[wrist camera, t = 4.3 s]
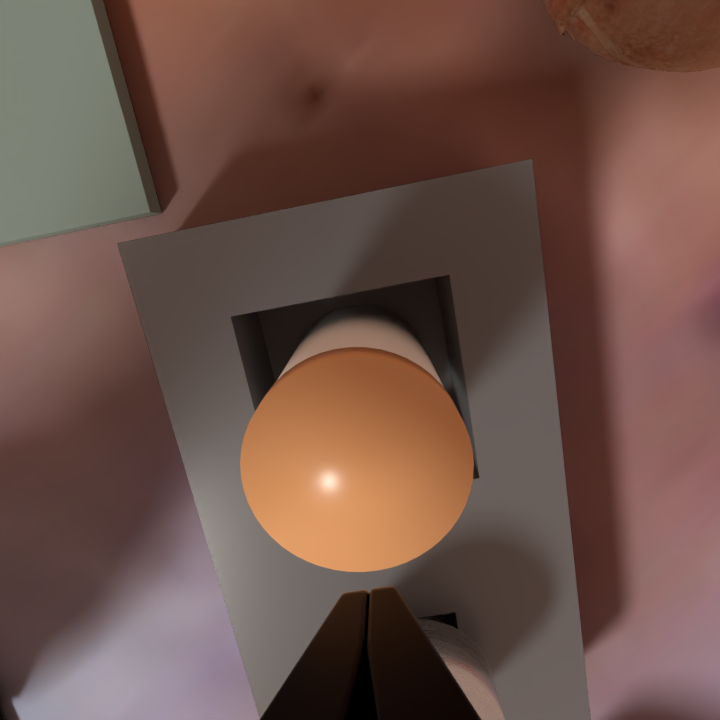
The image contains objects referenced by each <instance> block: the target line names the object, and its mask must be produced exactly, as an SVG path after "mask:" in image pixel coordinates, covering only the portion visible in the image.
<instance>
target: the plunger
mask: <svg viewBox="0 0 720 720" xmlns="http://www.w3.org/2000/svg"><path fill="white" fill-rule="evenodd" d="M416 619H417V621H418V622H419V624H420V625H421V627H422V628H423V630H424V631H425V633H426V634H427V636H428V638H429V639H430V641H431V642H432V644H433V645H434V647H435V648H436V650H437V651H438V653H439V655H440V656H441V658H442V659H443V661H444V662H445V664H446V665H447V667H448V668H449V670H450V672H451V673H452V675H453V676H454V678H455V679H456V681H457V682H458V684H459V685H460V687H461V689H462V690H463V692H464V693H465V695H466V696H467V698H468V699H469V701H470V702H471V704H472V706H473V707H474V709H475V710H476V712H477V713H478V715H479V716H480V718H481V719H482V720H505V718H504V714H503V711H502V707H501V704H500V700H499V697H498V693H497V690H496V686H495V683H494V679H493V676H492V672H491V668H490V665H489V662H488V660H487V658H486V656H485V654H484V652H483V651H482V649H481V648H480V647H479V646H478V644H477V643H476V642H475V641H474V640H473V639H471V638H470V637H469V636H468V635H466V634H465V633H463V632H462V631H460V630H458V629H456V628H454V627H453V626H450V625H447V624H445V620H444V615H443V614H441V615H434V616H428V617H421V618H416Z"/></svg>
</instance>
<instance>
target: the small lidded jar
mask: <svg viewBox="0 0 720 720" xmlns="http://www.w3.org/2000/svg"><path fill="white" fill-rule="evenodd" d="M240 470H241V480H242V485H243V490H244V493H245V496H246V498H247V501H248V504H249V506H250V508H251V510H252V512H253V514H254V516H255V517H256V519H257V520H258V521H259V523H260V524H261V526H262V527H263V528H264V530H265V531H266V532H267V533H268V534H269V535H270V536H271V537H272V538H273V539H274V540H275V541H276V542H277V543H279V544H280V545H281V546H282V547H283V548H285V549H286V550H288V551H289V552H291V553H292V554H294V555H295V556H297V557H299V558H301V559H303V560H305V561H307V562H310V563H312V564H315V565H318V566H321V567H325V568H329V569H333V570H339V571H346V572H369V571H378V570H383V569H387V568H392V567H395V566H398V565H401V564H404V563H406V562H408V561H410V560H412V559H414V558H417V557H418V556H420V555H422V554H423V553H425V552H426V551H428V550H429V549H431V548H432V547H433V546H434V545H436V544H437V543H438V542H439V541H440V540H442V538H443V537H444V536H445V535H446V534H447V533H448V532H449V531H450V530H451V528H452V527H453V526H454V524H455V523H456V521H457V520H458V519H459V517H460V515H461V513H462V511H463V509H464V507H465V505H466V503H467V500H468V497H469V494H470V491H471V486H472V481H473V470H474V461H473V450H472V445H471V441H470V437H469V434H468V431H467V429H466V426H465V424H464V422H463V420H462V418H461V416H460V414H459V412H458V410H457V408H456V406H455V404H454V402H453V401H452V399H451V397H450V395H449V394H448V393H447V391H446V390H445V389H444V387H443V385H442V383H441V381H440V379H439V377H438V375H437V373H436V371H435V369H434V367H433V365H432V363H431V361H430V359H429V357H428V355H427V353H426V351H425V349H424V346H423V344H422V342H421V341H420V339H419V337H418V335H417V334H416V333H415V331H414V330H413V328H412V327H411V326H410V325H409V324H408V323H407V322H406V321H404V320H403V319H402V318H401V317H399V316H398V315H396V314H394V313H392V312H390V311H388V310H386V309H383V308H380V307H376V306H370V305H352V306H346V307H342V308H339V309H336V310H334V311H332V312H330V313H328V314H326V315H324V316H323V317H322V318H320V319H319V320H318V321H316V322H315V323H314V324H313V325H312V326H311V327H310V329H309V330H308V331H307V333H306V334H305V336H304V337H303V339H302V341H301V342H300V344H299V345H298V347H297V349H296V350H295V352H294V354H293V355H292V357H291V358H290V360H289V362H288V363H287V365H286V367H285V368H284V370H283V371H282V373H281V375H280V376H279V378H278V380H277V381H276V382H275V383H274V384H273V386H272V387H271V388H270V390H269V391H268V392H267V393H266V395H265V396H264V398H263V400H262V401H261V403H260V404H259V406H258V408H257V409H256V411H255V413H254V415H253V416H252V418H251V420H250V422H249V424H248V427H247V430H246V432H245V435H244V439H243V443H242V448H241V458H240Z"/></svg>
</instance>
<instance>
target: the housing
mask: <svg viewBox="0 0 720 720" xmlns="http://www.w3.org/2000/svg"><path fill="white" fill-rule="evenodd" d="M117 244H118V248H119V251H120V254H121V258H122V261H123V264H124V268H125V271H126V274H127V278H128V281H129V284H130V288H131V291H132V294H133V298H134V301H135V304H136V308H137V311H138V314H139V318H140V321H141V324H142V328H143V331H144V334H145V338H146V341H147V344H148V348H149V351H150V354H151V358H152V361H153V364H154V368H155V371H156V374H157V378H158V381H159V384H160V388H161V391H162V394H163V398H164V401H165V404H166V408H167V411H168V414H169V418H170V421H171V424H172V428H173V431H174V434H175V438H176V441H177V444H178V448H179V451H180V454H181V458H182V461H183V464H184V468H185V471H186V474H187V478H188V481H189V484H190V488H191V491H192V494H193V498H194V501H195V504H196V508H197V511H198V514H199V518H200V521H201V524H202V528H203V531H204V534H205V538H206V541H207V544H208V548H209V551H210V554H211V558H212V561H213V564H214V568H215V571H216V574H217V578H218V581H219V584H220V588H221V591H222V594H223V598H224V601H225V604H226V607H227V611H228V614H229V617H230V621H231V624H232V627H233V631H234V634H235V637H236V641H237V644H238V647H239V651H240V654H241V657H242V661H243V664H244V667H245V671H246V674H247V677H248V681H249V684H250V687H251V691H252V694H253V697H254V701H255V704H256V707H257V711H258V714H259V717H260V718H261V717H262V715H263V714H264V712H265V711H266V709H267V708H268V706H269V704H270V703H271V701H272V700H273V698H274V697H275V695H276V694H277V692H278V691H279V689H280V688H281V686H282V685H283V683H284V682H285V680H286V679H287V677H288V675H289V674H290V672H291V671H292V669H293V668H294V666H295V665H296V663H297V662H298V660H299V659H300V657H301V656H302V654H303V653H304V651H305V650H306V648H307V646H308V645H309V643H310V642H311V640H312V639H313V637H314V636H315V634H316V633H317V631H318V630H319V628H320V627H321V625H322V624H323V622H324V621H325V619H326V617H327V616H328V614H329V613H330V611H331V610H332V608H333V607H334V605H335V604H336V602H337V601H338V599H339V598H340V596H341V595H342V594H343V593H345V592H350V591H358V590H367V591H368V592H370V590H372V589H373V588H380V587H387V586H394V587H396V588H397V590H398V591H399V593H400V594H401V596H402V597H403V599H404V600H405V602H406V604H407V605H408V607H409V608H410V610H411V611H412V613H413V614H414V616H415V617H416V618H421V617H428V616H434V615H441V614H443V615H444V620H445V624H447V625H450V626H453V627H454V628H456V629H458V630H460V631H462V632H463V633H465V634H466V635H468V636H469V637H470V638H471V639H473V640H474V641H475V642H476V643H477V644H478V646H479V647H480V648H481V649H482V651H483V652H484V654H485V656H486V658H487V660H488V662H489V665H490V668H491V672H492V676H493V679H494V683H495V686H496V690H497V693H498V697H499V700H500V704H501V707H502V711H503V714H504V718H505V720H591V718H590V708H589V699H588V689H587V680H586V670H585V660H584V651H583V641H582V632H581V622H580V612H579V603H578V593H577V583H576V574H575V564H574V555H573V545H572V535H571V526H570V516H569V507H568V497H567V487H566V478H565V468H564V459H563V449H562V439H561V430H560V420H559V410H558V401H557V391H556V382H555V372H554V362H553V353H552V343H551V334H550V324H549V314H548V305H547V295H546V286H545V276H544V266H543V257H542V247H541V237H540V228H539V218H538V209H537V199H536V189H535V180H534V170H533V161H532V159H529V160H524V161H519V162H514V163H509V164H504V165H499V166H494V167H489V168H484V169H479V170H474V171H470V172H465V173H460V174H455V175H450V176H445V177H440V178H435V179H430V180H425V181H420V182H416V183H411V184H406V185H401V186H396V187H391V188H386V189H381V190H376V191H371V192H366V193H361V194H357V195H352V196H347V197H342V198H337V199H332V200H327V201H322V202H317V203H312V204H307V205H302V206H298V207H293V208H288V209H283V210H278V211H273V212H268V213H263V214H258V215H253V216H248V217H244V218H239V219H234V220H229V221H224V222H219V223H214V224H209V225H204V226H199V227H194V228H189V229H185V230H180V231H175V232H170V233H165V234H160V235H155V236H150V237H145V238H140V239H135V240H131V241H126V242H121V243H117ZM352 305H370V306H376V307H380V308H383V309H386V310H388V311H390V312H392V313H394V314H396V315H398V316H399V317H401V318H402V319H403V320H404V321H406V322H407V323H408V324H409V325H410V326H411V327H412V328H413V330H414V331H415V333H416V334H417V335H418V337H419V339H420V341H421V342H422V344H423V346H424V349H425V351H426V353H427V355H428V357H429V359H430V361H431V363H432V365H433V367H434V369H435V371H436V373H437V375H438V377H439V379H440V381H441V383H442V385H443V387H444V389H445V390H446V391H447V393H448V394H449V395H450V397H451V399H452V401H453V402H454V404H455V406H456V408H457V410H458V412H459V414H460V416H461V418H462V420H463V422H464V424H465V426H466V429H467V431H468V434H469V437H470V441H471V445H472V450H473V461H474V470H473V481H472V486H471V491H470V494H469V497H468V500H467V503H466V505H465V507H464V509H463V511H462V513H461V515H460V517H459V519H458V520H457V521H456V523H455V524H454V526H453V527H452V528H451V530H450V531H449V532H448V533H447V534H446V535H445V536H444V537H443V538H442V540H440V541H439V542H438V543H437V544H436V545H434V546H433V547H432V548H431V549H429V550H428V551H426V552H425V553H423V554H422V555H420V556H418V557H417V558H414V559H412V560H410V561H408V562H406V563H404V564H401V565H398V566H395V567H392V568H387V569H383V570H378V571H369V572H346V571H339V570H333V569H329V568H325V567H321V566H318V565H315V564H312V563H310V562H307V561H305V560H303V559H301V558H299V557H297V556H295V555H294V554H292V553H291V552H289V551H288V550H286V549H285V548H283V547H282V546H281V545H280V544H279V543H277V542H276V541H275V540H274V539H273V538H272V537H271V536H270V535H269V534H268V533H267V532H266V531H265V530H264V528H263V527H262V526H261V524H260V523H259V521H258V520H257V519H256V517H255V516H254V514H253V512H252V510H251V508H250V506H249V504H248V501H247V498H246V496H245V493H244V490H243V485H242V480H241V470H240V458H241V448H242V443H243V439H244V435H245V432H246V430H247V427H248V424H249V422H250V420H251V418H252V416H253V415H254V413H255V411H256V409H257V408H258V406H259V404H260V403H261V401H262V400H263V398H264V396H265V395H266V393H267V392H268V391H269V390H270V388H271V387H272V386H273V384H274V383H275V382H276V381H277V380H278V378H279V376H280V375H281V373H282V371H283V370H284V368H285V367H286V365H287V363H288V362H289V360H290V358H291V357H292V355H293V354H294V352H295V350H296V349H297V347H298V345H299V344H300V342H301V341H302V339H303V337H304V336H305V334H306V333H307V331H308V330H309V329H310V327H311V326H312V325H313V324H314V323H315V322H316V321H318V320H319V319H320V318H322V317H323V316H324V315H326V314H328V313H330V312H332V311H334V310H336V309H339V308H342V307H346V306H352Z"/></svg>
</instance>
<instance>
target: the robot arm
mask: <svg viewBox="0 0 720 720" xmlns="http://www.w3.org/2000/svg"><path fill="white" fill-rule="evenodd" d="M0 720H4V719H3V717H2V715H1V713H0ZM260 720H482V719H481V718H480V716H479V715H478V713H477V712H476V710H475V709H474V707H473V706H472V704H471V702H470V701H469V699H468V698H467V696H466V695H465V693H464V692H463V690H462V689H461V687H460V685H459V684H458V682H457V681H456V679H455V678H454V676H453V675H452V673H451V672H450V670H449V668H448V667H447V665H446V664H445V662H444V661H443V659H442V658H441V656H440V655H439V653H438V651H437V650H436V648H435V647H434V645H433V644H432V642H431V641H430V639H429V638H428V636H427V634H426V633H425V631H424V630H423V628H422V627H421V625H420V624H419V622H418V621H417V619H416V617H415V616H414V614H413V613H412V611H411V610H410V608H409V607H408V605H407V604H406V602H405V600H404V599H403V597H402V596H401V594H400V593H399V591H398V590H397V588H396V587H394V586H387V587H380V588H373V589H372V590H370V592H368V591H367V590H358V591H350V592H345V593H343V594H342V595H341V596H340V598H339V599H338V601H337V602H336V604H335V605H334V607H333V608H332V610H331V611H330V613H329V614H328V616H327V617H326V619H325V621H324V622H323V624H322V625H321V627H320V628H319V630H318V631H317V633H316V634H315V636H314V637H313V639H312V640H311V642H310V643H309V645H308V646H307V648H306V650H305V651H304V653H303V654H302V656H301V657H300V659H299V660H298V662H297V663H296V665H295V666H294V668H293V669H292V671H291V672H290V674H289V675H288V677H287V679H286V680H285V682H284V683H283V685H282V686H281V688H280V689H279V691H278V692H277V694H276V695H275V697H274V698H273V700H272V701H271V703H270V704H269V706H268V708H267V709H266V711H265V712H264V714H263V715H262V717H261V718H260Z"/></svg>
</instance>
